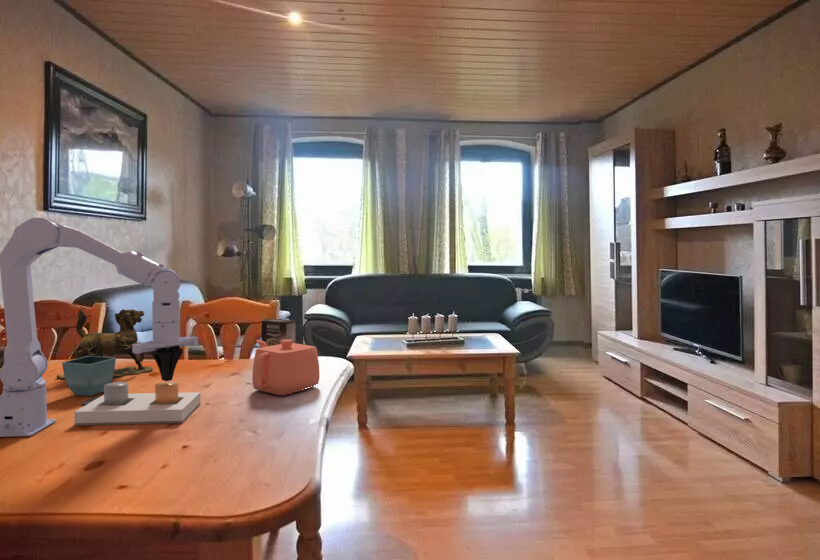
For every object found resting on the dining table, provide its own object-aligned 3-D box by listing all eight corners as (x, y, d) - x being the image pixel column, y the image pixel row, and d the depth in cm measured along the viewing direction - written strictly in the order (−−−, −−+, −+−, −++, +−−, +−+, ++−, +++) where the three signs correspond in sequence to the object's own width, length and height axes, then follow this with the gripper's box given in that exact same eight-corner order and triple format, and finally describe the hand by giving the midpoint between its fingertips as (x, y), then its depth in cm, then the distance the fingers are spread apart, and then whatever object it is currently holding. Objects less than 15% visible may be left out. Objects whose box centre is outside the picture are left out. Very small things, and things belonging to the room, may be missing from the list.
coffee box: (260, 371, 163) (260, 320, 162) (271, 366, 169) (271, 318, 168) (285, 373, 160) (285, 322, 159) (296, 369, 166) (296, 319, 165)
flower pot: (90, 399, 129) (90, 364, 128) (61, 396, 130) (60, 362, 130) (117, 390, 137) (116, 357, 137) (89, 388, 139) (88, 355, 139)
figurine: (153, 375, 155) (152, 308, 154) (53, 383, 143) (52, 311, 142) (152, 366, 166) (151, 304, 165) (59, 374, 155) (58, 307, 154)
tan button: (174, 403, 116) (174, 386, 116) (152, 404, 115) (151, 386, 115) (181, 397, 121) (181, 381, 121) (159, 398, 120) (159, 381, 120)
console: (182, 423, 112) (182, 409, 112) (74, 425, 109) (74, 411, 109) (200, 404, 126) (200, 392, 126) (105, 406, 123) (105, 393, 123)
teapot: (283, 376, 156) (283, 331, 156) (329, 386, 145) (329, 338, 145) (226, 389, 140) (226, 339, 139) (273, 402, 129) (274, 348, 128)
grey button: (123, 404, 115) (122, 387, 114) (100, 405, 114) (99, 387, 114) (131, 398, 119) (131, 381, 119) (110, 399, 119) (109, 382, 119)
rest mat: (107, 405, 124) (107, 403, 124) (80, 405, 123) (80, 403, 123) (118, 398, 130) (118, 396, 130) (92, 398, 129) (92, 397, 129)
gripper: (186, 317, 125) (186, 371, 126) (125, 323, 114) (126, 383, 114) (202, 319, 121) (203, 376, 122) (141, 326, 110) (142, 388, 110)
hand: (167, 380), depth 118 cm, fingers closed
